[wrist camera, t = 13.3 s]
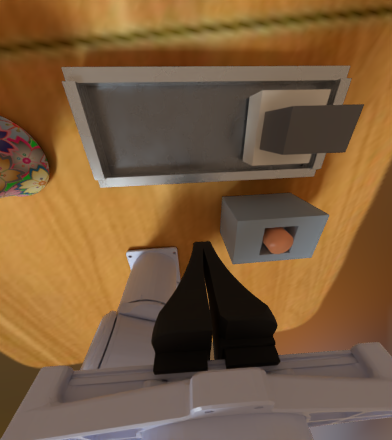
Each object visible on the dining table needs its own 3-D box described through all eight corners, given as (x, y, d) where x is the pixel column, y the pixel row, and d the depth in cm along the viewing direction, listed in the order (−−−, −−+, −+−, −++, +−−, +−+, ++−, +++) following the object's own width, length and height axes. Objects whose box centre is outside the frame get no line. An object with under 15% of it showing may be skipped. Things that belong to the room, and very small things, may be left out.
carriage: (292, 159, 19) (343, 171, 13) (242, 161, 19) (271, 175, 13) (308, 95, 16) (383, 75, 10) (249, 96, 16) (292, 75, 10)
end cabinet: (280, 227, 26) (311, 257, 20) (220, 232, 26) (232, 264, 19) (290, 192, 23) (329, 214, 17) (222, 196, 23) (237, 221, 17)
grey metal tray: (299, 171, 22) (317, 177, 19) (109, 180, 20) (98, 189, 17) (326, 74, 17) (356, 63, 14) (79, 76, 15) (56, 64, 12)
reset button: (278, 240, 21) (289, 253, 19) (257, 242, 20) (266, 255, 18) (283, 221, 19) (296, 232, 17) (261, 223, 19) (271, 234, 17)
